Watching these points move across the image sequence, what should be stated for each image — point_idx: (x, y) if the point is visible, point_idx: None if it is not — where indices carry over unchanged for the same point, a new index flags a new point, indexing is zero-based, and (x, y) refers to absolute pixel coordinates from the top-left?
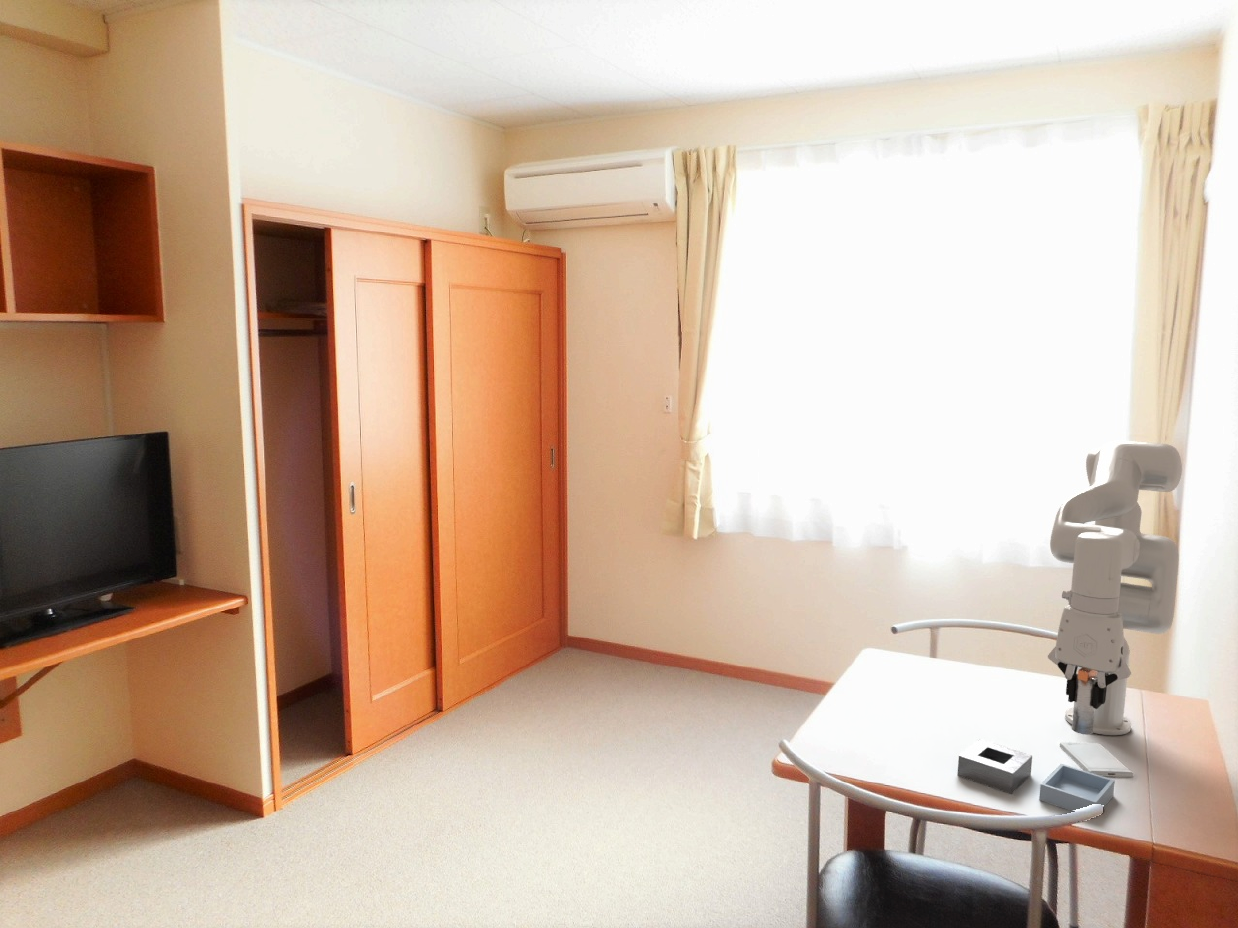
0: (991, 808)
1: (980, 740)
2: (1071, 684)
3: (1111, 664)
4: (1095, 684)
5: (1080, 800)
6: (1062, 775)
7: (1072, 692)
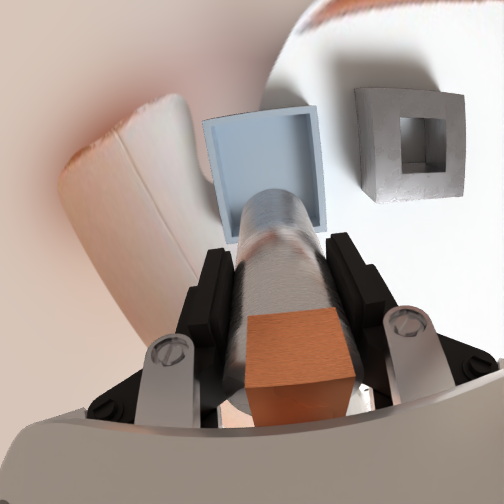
0: (347, 13)
1: (460, 191)
2: (365, 285)
3: (4, 479)
4: (226, 353)
5: (232, 115)
6: (316, 218)
7: (341, 261)
